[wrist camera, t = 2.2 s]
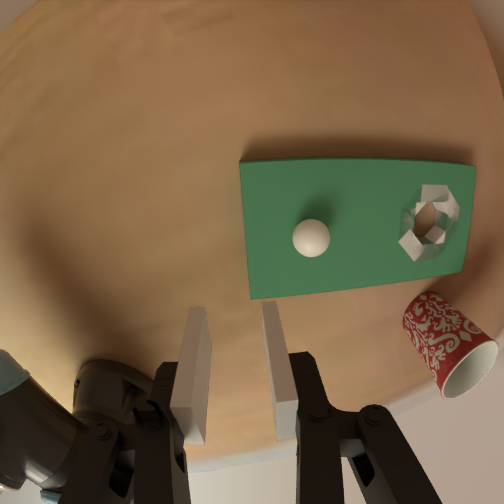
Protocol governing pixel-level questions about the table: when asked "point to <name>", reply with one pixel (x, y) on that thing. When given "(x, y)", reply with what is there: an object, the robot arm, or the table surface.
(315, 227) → the ball
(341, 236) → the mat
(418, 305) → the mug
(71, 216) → the table surface
